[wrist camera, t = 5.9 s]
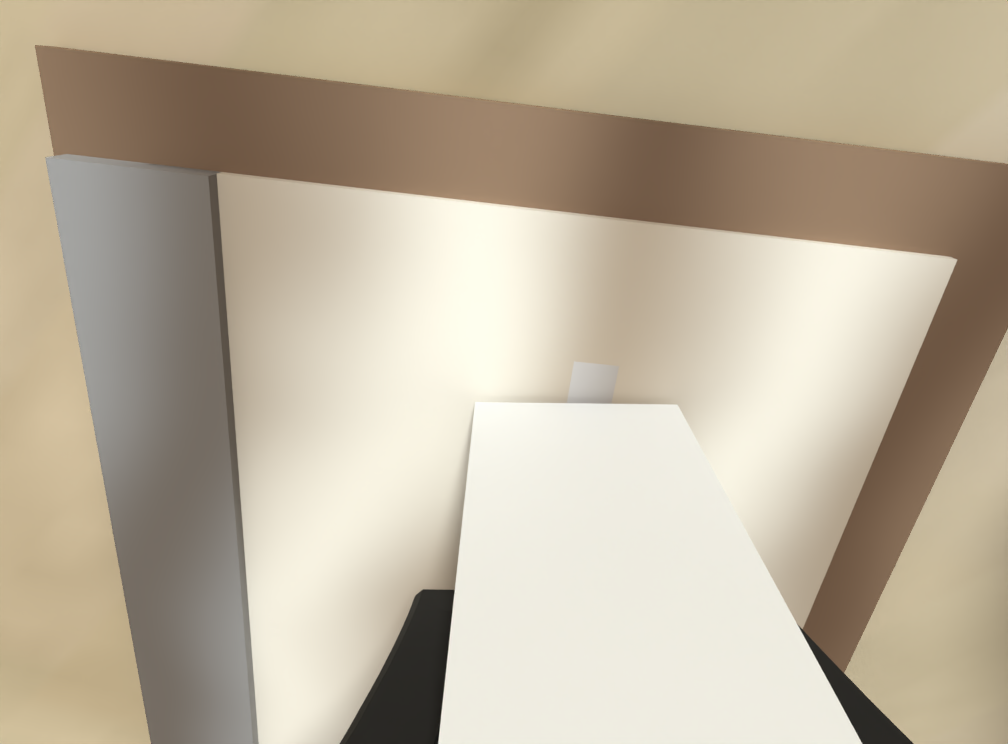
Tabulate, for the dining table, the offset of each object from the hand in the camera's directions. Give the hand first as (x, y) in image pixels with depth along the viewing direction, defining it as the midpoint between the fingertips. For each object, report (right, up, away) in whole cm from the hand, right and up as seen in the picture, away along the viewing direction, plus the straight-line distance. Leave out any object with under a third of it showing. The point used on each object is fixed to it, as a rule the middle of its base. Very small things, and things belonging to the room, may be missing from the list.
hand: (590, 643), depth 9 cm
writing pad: (-1, 0, +5) cm, 5 cm away
